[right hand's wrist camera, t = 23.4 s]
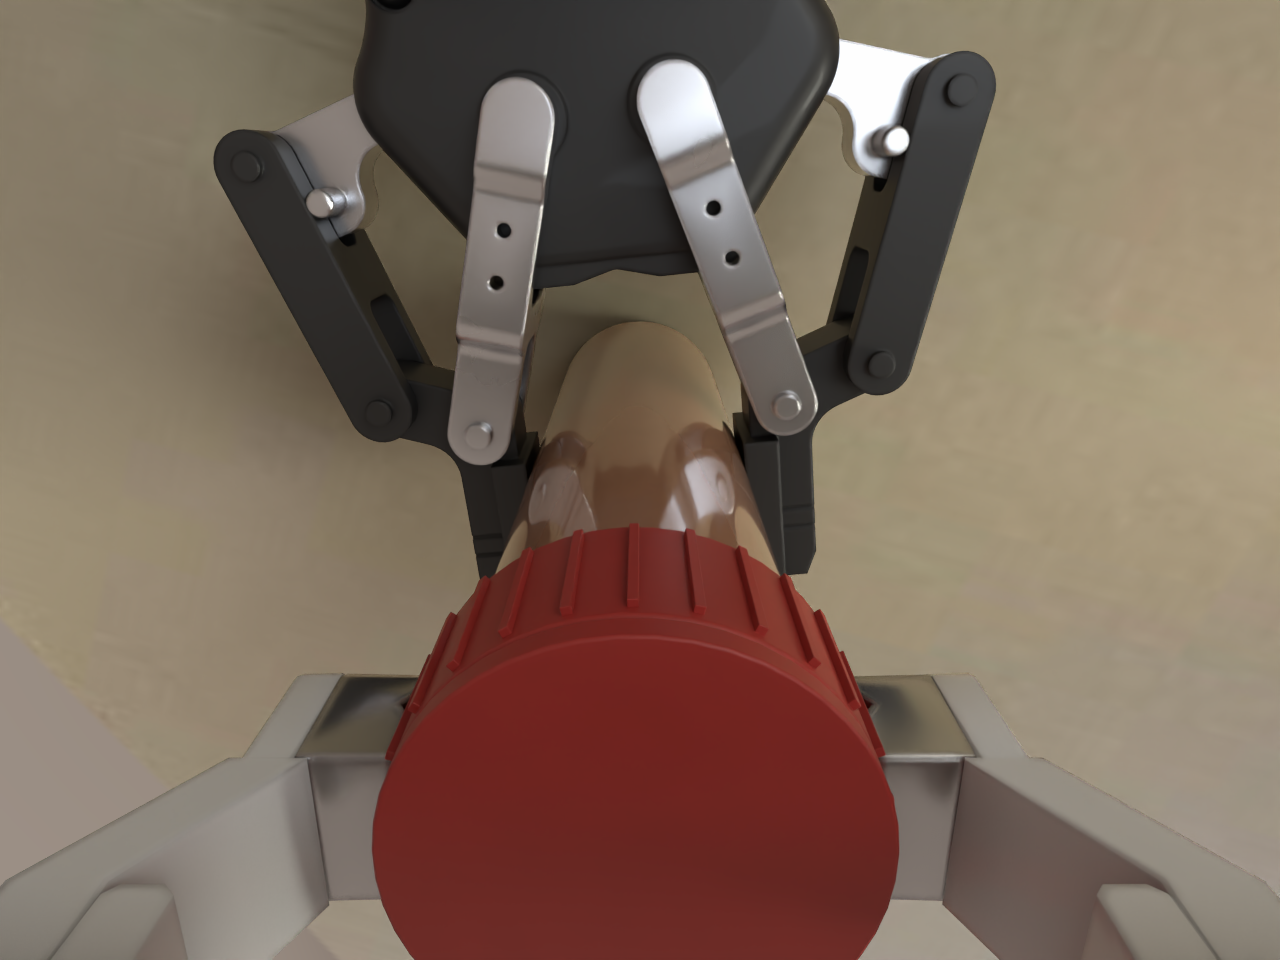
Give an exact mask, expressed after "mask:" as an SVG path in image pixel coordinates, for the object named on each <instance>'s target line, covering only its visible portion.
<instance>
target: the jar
mask: <svg viewBox="0 0 1280 960" xmlns="http://www.w3.org/2000/svg"><path fill="white" fill-rule="evenodd" d="M629 523H639V527H653V528H661V529H669V530H677V531H683V532H685V529H686V528H688V529H692V530H695V533H696V535H699V536H703V537H707V538H710V539H713V540H716V541H718V542H721V543H723V544H726V545H728V546H731V547H733V548H736V549H737V547H738V546H739V545H740V546H742V547H744V548H746V549H747V551H748V555H749V556H751V557H753V558H754V559H756V560H758V561H760V562H762V563H763V564H764V565H766V566H767V567H768V568H770V569H771V570H773V571H774V572H775V573H777V574H778V575H779V576H781V574H780V571H779V568H778V565H777V562H776V559H775V557H774V554H773V551H772V548H771V545H770V542H769V539H768V536H767V533H766V530H765V527H764V524H763V521H762V518H761V515H760V512H759V509H758V506H757V503H756V500H755V498H754V495H753V492H752V489H751V486H750V483H749V480H748V477H747V474H746V471H745V468H744V465H743V462H742V459H741V456H740V453H739V450H738V447H737V444H736V441H735V439H734V436H733V433H732V430H731V427H730V424H729V421H728V418H727V415H726V412H725V409H724V406H723V403H722V400H721V397H720V394H719V391H718V388H717V385H716V382H715V379H714V377H713V374H712V371H711V369H710V366H709V364H708V362H707V360H706V358H705V357H704V355H703V354H702V352H701V351H700V350H699V348H698V347H697V346H696V345H695V344H694V343H693V342H692V341H691V340H690V339H688V338H687V337H686V336H684V335H683V334H681V333H680V332H678V331H676V330H675V329H672V328H670V327H667V326H665V325H661V324H658V323H653V322H646V321H633V322H625V323H621V324H617V325H614V326H611V327H609V328H607V329H604V330H603V331H601V332H599V333H597V334H596V335H595V336H593V337H592V338H591V339H589V340H588V341H587V342H586V343H585V344H584V345H583V346H582V347H581V348H580V350H579V351H578V352H577V354H576V355H575V356H574V358H573V360H572V362H571V364H570V366H569V368H568V371H567V373H566V376H565V379H564V382H563V385H562V387H561V390H560V393H559V396H558V399H557V401H556V404H555V407H554V410H553V412H552V415H551V418H550V421H549V424H548V426H547V429H546V432H545V435H544V438H543V440H542V443H541V446H540V449H539V452H538V454H537V457H536V460H535V463H534V466H533V468H532V471H531V474H530V477H529V480H528V482H527V485H526V488H525V491H524V494H523V496H522V499H521V502H520V505H519V508H518V510H517V513H516V516H515V519H514V522H513V524H512V527H511V530H510V533H509V536H508V538H507V541H506V544H505V547H504V550H503V552H502V555H501V558H500V561H499V564H498V566H497V569H496V572H495V574H496V573H497V572H499V571H500V570H502V569H503V568H504V567H506V566H507V565H509V564H510V563H511V562H513V561H514V560H516V559H518V558H520V556H521V553H522V551H523V550H525V549H527V548H529V547H531V549H532V550H535V549H537V548H539V547H542V546H544V545H547V544H550V543H552V542H555V541H557V540H560V539H563V538H565V537H570V536H573V531H576V530H580V529H583V532H584V533H586V532H590V531H595V530H604V529H612V528H621V527H629Z"/></svg>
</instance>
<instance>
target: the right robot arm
mask: <svg viewBox="0 0 1280 960" xmlns="http://www.w3.org/2000/svg"><path fill="white" fill-rule="evenodd" d="M418 678H419V675H384V674H346V675H345V674H343V673H324V674H303V675H300V676H297V677H296V678H295V680H294V681H293V683H292V684H291V686H290V687H289V689H288V690H287V692H286V693H285V695H284V696H283V697H282V699H281V700H280V702H279V703H278V705H277V706H276V708H275V709H274V711H273V712H272V714H271V715H270V717H269V718H268V720H267V721H266V723H265V724H264V726H263V727H262V729H261V730H260V732H259V733H258V735H257V736H256V738H255V739H254V741H253V742H252V744H251V745H250V747H249V748H248V750H247V751H246V753H245V754H244V756H243V757H242V758H228V759H226V760H224V761H222V762H220V763H218V764H217V765H215V766H213V767H211V768H209V769H208V770H206V771H204V772H202V773H200V774H198V775H197V776H195V777H193V778H191V779H189V780H187V781H186V782H184V783H182V784H180V785H178V786H177V787H175V788H173V789H171V790H169V791H167V792H166V793H164V794H162V795H160V796H158V797H157V798H155V799H153V800H151V801H149V802H147V803H146V804H144V805H142V806H140V807H138V808H136V809H135V810H133V811H131V812H129V813H127V814H126V815H124V816H122V817H120V818H118V819H116V820H115V821H113V822H111V823H109V824H107V825H106V826H104V827H102V828H100V829H98V830H96V831H95V832H93V833H91V834H89V835H87V836H86V837H84V838H82V839H80V840H78V841H76V842H75V843H73V844H71V845H69V846H67V847H65V848H64V849H62V850H60V851H58V852H56V853H55V854H53V855H51V856H49V857H47V858H45V859H44V860H42V861H40V862H38V863H36V864H35V865H33V866H31V867H29V868H27V869H25V870H24V871H22V872H20V873H18V874H16V875H14V876H13V877H11V878H9V879H7V880H6V881H5V882H4V883H3V884H2V885H1V886H0V960H272V959H273V958H274V957H275V956H276V955H277V954H278V953H279V952H280V951H282V950H283V949H284V948H285V947H286V946H287V945H288V944H289V943H290V942H291V941H292V940H293V939H294V938H295V937H296V936H297V935H298V934H299V933H300V932H301V931H303V930H304V929H305V928H306V927H307V926H308V925H309V924H310V923H311V922H312V921H313V920H314V919H315V918H316V917H317V916H318V915H319V914H320V913H321V912H322V911H324V910H325V909H326V908H327V907H328V906H329V901H335V900H370V899H381V897H380V894H379V890H378V887H377V883H376V880H375V873H374V865H373V857H372V830H373V819H374V814H375V809H376V805H377V800H378V795H379V792H380V790H381V787H382V784H383V782H384V779H385V777H386V774H387V772H388V769H389V767H390V764H391V762H392V761H389V760H386V759H385V755H386V752H387V749H388V747H389V745H390V742H391V740H392V738H393V736H394V733H395V731H396V729H397V726H398V724H399V722H400V719H401V717H402V715H403V712H404V710H405V708H406V705H407V703H408V701H409V699H410V696H411V694H412V692H413V689H414V687H415V685H416V682H417V680H418ZM854 678H855V680H856V683H857V685H858V688H859V690H860V692H861V695H862V697H863V700H864V702H865V705H866V707H867V709H868V712H869V714H870V717H871V719H872V721H873V724H874V726H875V729H876V731H877V733H878V736H879V738H880V741H881V743H882V745H883V748H884V751H885V754H886V755H885V756H882V757H879V758H878V759H879V762H880V764H881V767H882V769H883V772H884V774H885V777H886V780H887V782H888V785H889V788H890V790H891V793H892V795H893V796H894V804H895V809H896V814H897V819H898V824H899V860H898V868H897V875H896V882H895V885H894V889H893V892H892V895H891V899H901V900H937V901H943V905H944V906H945V907H946V908H947V909H948V910H949V911H950V912H951V913H952V914H953V915H954V916H955V917H956V918H957V919H958V920H959V921H960V922H961V923H962V924H963V925H964V926H965V927H966V928H968V929H969V930H970V931H971V932H972V933H973V934H974V935H975V936H976V937H977V938H978V939H979V940H980V941H981V942H982V943H983V944H984V945H985V946H986V947H987V948H988V949H989V950H990V951H991V952H992V953H993V954H994V955H995V956H997V957H998V958H999V959H1000V960H1280V898H1279V897H1278V896H1277V895H1276V894H1275V892H1274V891H1273V890H1272V889H1271V888H1270V887H1269V886H1268V884H1267V883H1266V882H1265V881H1263V880H1261V879H1260V878H1258V877H1256V876H1254V875H1252V874H1251V873H1249V872H1247V871H1245V870H1243V869H1242V868H1240V867H1238V866H1236V865H1234V864H1233V863H1231V862H1229V861H1227V860H1225V859H1224V858H1222V857H1220V856H1218V855H1216V854H1215V853H1213V852H1211V851H1209V850H1207V849H1206V848H1204V847H1202V846H1200V845H1198V844H1197V843H1195V842H1193V841H1191V840H1189V839H1188V838H1186V837H1184V836H1182V835H1180V834H1179V833H1177V832H1175V831H1173V830H1171V829H1170V828H1168V827H1166V826H1164V825H1162V824H1161V823H1159V822H1157V821H1155V820H1153V819H1152V818H1150V817H1148V816H1146V815H1144V814H1143V813H1141V812H1139V811H1137V810H1135V809H1134V808H1132V807H1130V806H1128V805H1126V804H1125V803H1123V802H1121V801H1119V800H1117V799H1116V798H1114V797H1112V796H1110V795H1108V794H1107V793H1105V792H1103V791H1101V790H1100V789H1098V788H1096V787H1094V786H1092V785H1091V784H1089V783H1087V782H1085V781H1083V780H1082V779H1080V778H1078V777H1076V776H1074V775H1073V774H1071V773H1069V772H1067V771H1065V770H1064V769H1062V768H1060V767H1058V766H1056V765H1055V764H1053V763H1051V762H1049V761H1047V760H1046V759H1044V758H1029V757H1028V755H1027V754H1026V752H1025V751H1024V749H1023V748H1022V746H1021V745H1020V743H1019V742H1018V740H1017V739H1016V737H1015V736H1014V734H1013V733H1012V731H1011V730H1010V728H1009V727H1008V725H1007V724H1006V722H1005V721H1004V719H1003V717H1002V716H1001V714H1000V713H999V711H998V710H997V708H996V707H995V705H994V704H993V702H992V701H991V699H990V698H989V696H988V695H987V693H986V692H985V690H984V689H983V687H982V686H981V684H980V683H979V681H978V680H977V678H976V677H975V676H973V675H971V674H969V673H951V674H926V675H894V676H855V677H854Z"/></svg>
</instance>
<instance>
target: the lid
mask: <svg viewBox="0 0 1280 960" xmlns="http://www.w3.org/2000/svg"><path fill="white" fill-rule="evenodd" d="M885 755H886V754H885V751H884V748H883V745H882V743H881V741H880V738H879V736H878V733H877V731H876V729H875V726H874V724H873V721H872V719H871V717H870V714H869V712H868V709H867V707H866V705H865V702H864V700H863V697H862V695H861V692H860V690H859V688H858V685H857V683H856V680H855V678H854V676H853V673H852V671H851V668H850V666H849V664H848V661H847V659H846V656H845V654H844V652H843V651H841V652H839V650H838V647H837V645H836V642H835V640H834V638H833V635H832V633H831V630H830V628H829V625H828V623H827V620H826V618H825V615H824V614H823V613H822V611H821V610H820V609H819V610H817V611H816V612H814V611H813V610H812V609H811V607H810V606H809V605H808V603H807V602H806V601H805V600H804V598H803V597H802V596H801V595H800V594H799V593H798V592H797V591H796V590H795V588H794V585H793V582H792V579H791V578H790V577H789V576H788V575H787V574H785V573H784V574H783V575H782V576H779V575H778V574H777V573H775V572H774V571H773V570H771V569H770V568H768V567H767V566H766V565H764V564H763V563H762V562H760V561H758V560H756V559H754V558H753V557H751V556H749V555H748V551H747V549H746V548H744V547H742V546H740V545H739V546H738V547H737V549H736V548H733V547H731V546H728V545H726V544H723V543H721V542H718V541H716V540H713V539H710V538H707V537H703V536H699V535H696V533H695V530H692V529H688V528H686V529H685V532H683V531H677V530H669V529H661V528H653V527H639V523H629V527H621V528H612V529H604V530H595V531H590V532H586V533H584V532H583V529H580V530H576V531H573V536H570V537H565V538H563V539H560V540H557V541H555V542H552V543H550V544H547V545H544V546H542V547H539V548H537V549H535V550H532V549H531V547H529V548H527V549H525V550H523V551H522V553H521V556H520V558H518V559H516V560H514V561H513V562H511V563H510V564H509V565H507V566H506V567H504V568H503V569H502V570H500V571H499V572H497V573H496V574H495V575H493V576H492V577H491V578H490V579H489V578H488V577H487V576H484V577H483V578H481V579H480V580H479V582H478V584H477V587H476V590H475V592H474V594H473V595H472V596H471V597H470V598H469V600H468V601H467V602H466V603H465V605H464V606H463V607H462V608H461V610H460V611H459V612H458V614H457V615H455V614H454V613H452V612H451V613H450V614H449V615H448V617H447V618H446V621H445V623H444V625H443V628H442V630H441V632H440V635H439V637H438V639H437V642H436V644H435V646H434V649H433V651H432V653H431V655H430V654H429V655H428V657H427V659H426V662H425V664H424V666H423V669H422V671H421V673H420V675H419V678H418V680H417V682H416V685H415V687H414V689H413V692H412V694H411V696H410V699H409V701H408V703H407V705H406V708H405V710H404V712H403V715H402V717H401V719H400V722H399V724H398V726H397V729H396V731H395V733H394V736H393V738H392V740H391V742H390V745H389V747H388V749H387V752H386V755H385V759H386V760H389V761H392V762H391V764H390V767H389V769H388V772H387V774H386V777H385V779H384V782H383V784H382V787H381V790H380V792H379V795H378V800H377V805H376V809H375V814H374V819H373V830H372V857H373V865H374V873H375V880H376V883H377V887H378V890H379V894H380V897H381V901H382V904H383V907H384V909H385V911H386V913H387V915H388V918H389V920H390V922H391V924H392V926H393V928H394V931H395V932H396V934H397V935H398V937H399V938H400V940H401V941H402V943H403V944H404V946H405V947H406V949H407V951H408V952H409V954H410V955H411V956H412V957H413V958H414V960H858V959H859V957H860V956H861V955H862V953H863V952H864V950H865V949H866V947H867V946H868V944H869V943H870V941H871V940H872V938H873V937H874V935H875V934H876V932H877V930H878V928H879V925H880V923H881V921H882V919H883V917H884V915H885V913H886V911H887V909H888V905H889V902H890V899H891V895H892V892H893V889H894V885H895V882H896V875H897V868H898V860H899V824H898V819H897V814H896V809H895V804H894V796H893V795H892V793H891V790H890V788H889V785H888V782H887V780H886V777H885V774H884V772H883V769H882V767H881V764H880V762H879V759H878V758H879V757H882V756H885Z"/></svg>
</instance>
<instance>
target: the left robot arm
mask: <svg viewBox="0 0 1280 960" xmlns="http://www.w3.org/2000/svg"><path fill="white" fill-rule="evenodd" d="M365 1H366V23H365V32H364V38H363V43H362V47H361V50H360V54H359V56H358V59H357V62H356V66H355V70H354V78H353V92H354V94H352V95H350V96H348V97H346V98H344V99H342V100H340V101H337V102H335V103H333V104H331V105H329V106H327V107H325V108H323V109H321V110H319V111H317V112H314V113H312V114H310V115H308V116H306V117H304V118H302V119H300V120H298V121H296V122H293V123H291V124H289V125H287V126H285V127H283V128H281V129H279V130H277V131H273V132H272V131H259V130H245V129H243V130H236V131H232V132H230V133H228V134H227V135H225V136H224V137H223V138H222V139H221V140H220V141H219V143H218V145H217V147H216V149H215V153H214V170H215V173H216V176H217V178H218V180H219V182H220V184H221V186H222V188H223V189H224V191H225V193H226V195H227V197H228V199H229V200H230V202H231V204H232V206H233V208H234V209H235V211H236V213H237V215H238V217H239V219H240V220H241V222H242V224H243V226H244V228H245V229H246V231H247V233H248V235H249V237H250V239H251V240H252V242H253V244H254V246H255V248H256V249H257V251H258V253H259V255H260V257H261V259H262V260H263V262H264V264H265V266H266V268H267V269H268V271H269V273H270V275H271V277H272V279H273V280H274V282H275V284H276V286H277V288H278V289H279V291H280V293H281V295H282V297H283V299H284V300H285V302H286V304H287V306H288V308H289V309H290V311H291V313H292V315H293V317H294V318H295V320H296V322H297V324H298V326H299V328H300V329H301V331H302V333H303V335H304V337H305V338H306V340H307V342H308V344H309V346H310V348H311V349H312V351H313V353H314V355H315V357H316V358H317V360H318V362H319V364H320V366H321V368H322V369H323V371H324V373H325V375H326V377H327V378H328V380H329V382H330V384H331V386H332V388H333V389H334V391H335V393H336V395H337V397H338V398H339V400H340V402H341V404H342V406H343V408H344V409H345V411H346V413H347V415H348V417H349V418H350V420H351V422H352V424H353V425H354V427H355V428H356V430H357V431H358V432H359V433H360V434H362V435H363V436H364V437H366V438H368V439H370V440H373V441H377V442H390V441H394V440H396V439H398V438H403V439H408V440H412V441H416V442H420V443H425V444H429V445H432V446H435V447H437V448H439V449H441V450H443V451H444V452H446V453H447V454H448V455H449V456H450V457H451V458H452V459H453V460H454V461H455V463H456V464H457V466H458V468H459V470H460V473H461V477H462V482H463V488H464V493H465V499H466V504H467V510H468V515H469V521H470V527H471V532H472V536H473V543H474V549H475V554H476V560H477V565H478V571H479V576H480V579H481V578H483V577H484V576H487V577H488V578H489V579H490V578H491V577H492V576H493V575H495V572H496V569H497V566H498V564H499V561H500V558H501V555H502V552H503V550H504V547H505V544H506V541H507V538H508V536H509V533H510V530H511V527H512V524H513V522H514V519H515V516H516V513H517V510H518V508H519V505H520V502H521V499H522V496H523V494H524V491H525V488H526V485H527V482H528V480H529V477H530V474H531V471H532V468H533V466H534V463H535V460H536V457H537V454H538V452H539V449H540V445H539V438H538V432H527V433H526V427H525V420H524V411H525V407H526V401H527V394H528V388H529V381H530V375H531V369H532V362H533V356H534V350H535V343H536V337H537V332H538V328H539V324H540V320H541V316H542V310H543V305H544V298H545V292H546V288H550V287H560V286H570V285H575V284H578V283H580V282H583V281H585V280H588V279H591V278H593V277H596V276H598V275H601V274H603V273H606V272H609V271H611V270H616V269H619V270H625V271H632V272H638V273H644V274H650V275H656V276H666V275H675V274H685V273H695V272H698V274H699V277H700V280H701V282H702V285H703V287H704V290H705V292H706V295H707V297H708V300H709V302H710V305H711V307H712V310H713V312H714V315H715V317H716V320H717V322H718V325H719V327H720V330H721V332H722V335H723V338H724V340H725V343H726V345H727V348H728V350H729V353H730V356H731V358H732V361H733V363H734V366H735V368H736V371H737V373H738V376H739V379H740V381H741V397H742V412H739V413H733V427H734V439H735V441H736V444H737V447H738V450H739V453H740V456H741V459H742V462H743V465H744V468H745V471H746V474H747V477H748V480H749V483H750V486H751V489H752V492H753V495H754V498H755V500H756V503H757V506H758V509H759V512H760V515H761V518H762V521H763V524H764V527H765V530H766V533H767V536H768V539H769V542H770V545H771V548H772V551H773V554H774V557H775V559H776V562H777V565H778V568H779V571H780V574H781V576H782V575H783V574H784V573H785V574H787V575H794V574H805V573H808V570H809V567H810V565H811V562H812V560H813V557H814V555H815V552H816V538H815V512H814V486H813V460H812V437H813V432H814V430H815V427H816V425H817V423H818V422H819V420H820V419H821V418H822V416H823V415H824V414H825V413H826V412H828V411H829V410H830V409H832V408H834V407H835V406H837V405H839V404H842V403H844V402H846V401H848V400H850V399H853V398H855V397H857V396H859V395H861V394H864V393H867V394H870V395H884V394H888V393H890V392H893V391H895V390H896V389H898V388H899V387H900V386H901V385H902V384H903V383H904V382H905V381H906V380H907V378H908V376H909V374H910V372H911V369H912V366H913V362H914V359H915V356H916V352H917V349H918V346H919V343H920V339H921V336H922V333H923V329H924V326H925V323H926V320H927V316H928V313H929V310H930V307H931V303H932V300H933V297H934V293H935V290H936V287H937V284H938V280H939V277H940V274H941V270H942V267H943V264H944V261H945V257H946V254H947V251H948V247H949V244H950V241H951V238H952V234H953V231H954V228H955V224H956V221H957V218H958V215H959V211H960V208H961V205H962V202H963V198H964V195H965V192H966V188H967V185H968V182H969V179H970V175H971V172H972V169H973V165H974V162H975V159H976V156H977V152H978V149H979V146H980V142H981V139H982V136H983V133H984V129H985V126H986V123H987V119H988V116H989V113H990V110H991V106H992V103H993V100H994V96H995V92H996V79H995V75H994V71H993V69H992V67H991V65H990V64H989V62H988V61H987V60H986V59H985V58H983V57H982V56H981V55H979V54H977V53H974V52H970V51H959V52H954V53H951V54H944V55H940V56H937V57H934V58H925V57H921V56H916V55H911V54H907V53H902V52H898V51H893V50H889V49H884V48H879V47H875V46H870V45H866V44H861V43H856V42H852V41H847V40H843V39H839V34H838V29H837V25H836V22H835V19H834V17H833V14H832V12H831V10H830V9H829V7H828V5H827V4H826V2H825V1H824V0H365ZM823 100H824V101H826V102H828V103H829V104H831V105H832V106H833V107H834V108H835V109H836V111H837V112H838V114H839V116H840V118H841V121H842V126H843V136H842V153H843V157H844V159H845V161H846V163H847V165H848V166H849V167H850V168H851V169H852V170H853V171H855V172H856V173H858V174H860V175H863V176H866V177H865V181H864V184H863V188H862V192H861V196H860V199H859V203H858V207H857V211H856V215H855V218H854V222H853V226H852V230H851V233H850V237H849V241H848V245H847V248H846V252H845V256H844V260H843V263H842V267H841V271H840V275H839V278H838V282H837V286H836V290H835V293H834V297H833V301H832V305H831V308H830V312H829V316H828V320H827V323H826V325H825V326H823V327H821V328H819V329H817V330H815V331H813V332H811V333H808V334H806V335H804V336H802V337H800V338H798V339H796V336H795V334H794V331H793V328H792V325H791V323H790V320H789V317H788V314H787V310H786V304H785V300H784V296H783V293H782V290H781V287H780V285H779V282H778V279H777V276H776V274H775V271H774V268H773V265H772V262H771V260H770V257H769V254H768V251H767V249H766V246H765V243H764V240H763V238H762V235H761V232H760V229H759V226H758V224H757V221H756V218H755V215H754V214H755V213H756V211H757V209H758V208H759V206H760V204H761V203H762V201H763V199H764V198H765V196H766V194H767V193H768V191H769V189H770V188H771V186H772V184H773V183H774V181H775V179H776V178H777V176H778V174H779V173H780V171H781V169H782V168H783V166H784V164H785V163H786V161H787V159H788V158H789V156H790V154H791V153H792V151H793V149H794V148H795V146H796V144H797V143H798V141H799V139H800V138H801V136H802V134H803V133H804V131H805V129H806V128H807V126H808V124H809V123H810V121H811V119H812V118H813V116H814V114H815V113H816V111H817V109H818V108H819V106H820V104H821V103H822V101H823ZM383 150H384V151H385V153H386V154H387V155H388V156H389V157H390V158H391V159H392V160H393V161H394V162H395V163H396V164H397V165H398V167H399V168H400V169H401V170H402V171H403V172H404V173H405V174H406V175H407V176H408V177H409V178H410V179H411V180H412V182H413V183H414V184H415V185H416V186H417V187H418V188H419V189H420V190H421V191H422V192H423V193H424V194H425V196H426V197H427V198H428V199H429V200H430V201H431V202H432V203H433V204H434V205H435V206H436V207H437V208H438V209H439V211H440V212H441V213H442V214H443V215H444V216H445V217H446V218H447V219H448V220H449V221H450V222H451V223H452V225H453V226H454V227H455V228H456V229H457V230H458V231H459V232H460V233H461V234H462V235H463V236H464V237H465V238H466V240H467V244H466V252H465V260H464V268H463V276H462V284H461V292H460V300H459V308H458V315H457V324H456V339H457V342H458V353H457V361H456V369H455V371H452V370H448V369H444V368H440V367H436V366H433V364H432V362H431V360H430V358H429V356H428V354H427V353H426V351H425V349H424V347H423V345H422V343H421V341H420V339H419V337H418V335H417V333H416V331H415V329H414V327H413V325H412V323H411V321H410V319H409V317H408V315H407V313H406V311H405V309H404V307H403V305H402V303H401V301H400V299H399V297H398V295H397V293H396V291H395V289H394V287H393V285H392V283H391V281H390V279H389V277H388V275H387V273H386V271H385V269H384V267H383V265H382V264H381V262H380V260H379V258H378V256H377V254H376V252H375V250H374V248H373V246H372V244H371V242H370V240H369V238H368V236H367V234H366V232H365V230H364V229H365V228H367V227H368V226H369V225H370V224H371V223H372V222H373V221H374V219H375V217H376V215H377V212H378V208H379V199H378V194H377V191H376V188H375V185H374V180H373V170H374V165H375V162H376V160H377V158H378V156H379V155H380V153H381V152H382V151H383Z"/></svg>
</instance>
